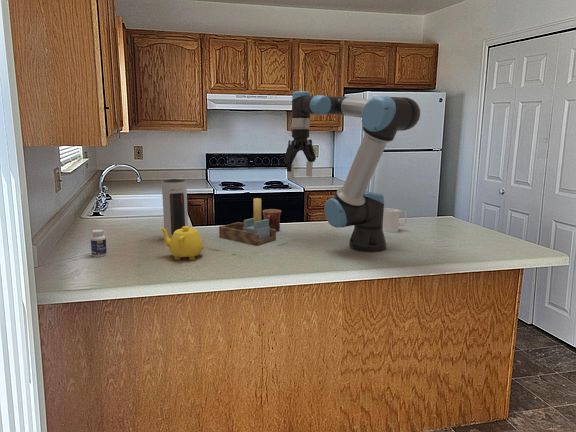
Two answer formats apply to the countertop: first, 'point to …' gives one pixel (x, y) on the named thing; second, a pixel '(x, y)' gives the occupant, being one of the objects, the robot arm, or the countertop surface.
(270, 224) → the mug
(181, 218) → the speaker
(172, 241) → the teapot
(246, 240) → the bay
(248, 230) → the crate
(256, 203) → the peg
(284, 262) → the countertop surface
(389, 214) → the cup
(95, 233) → the pill bottle
